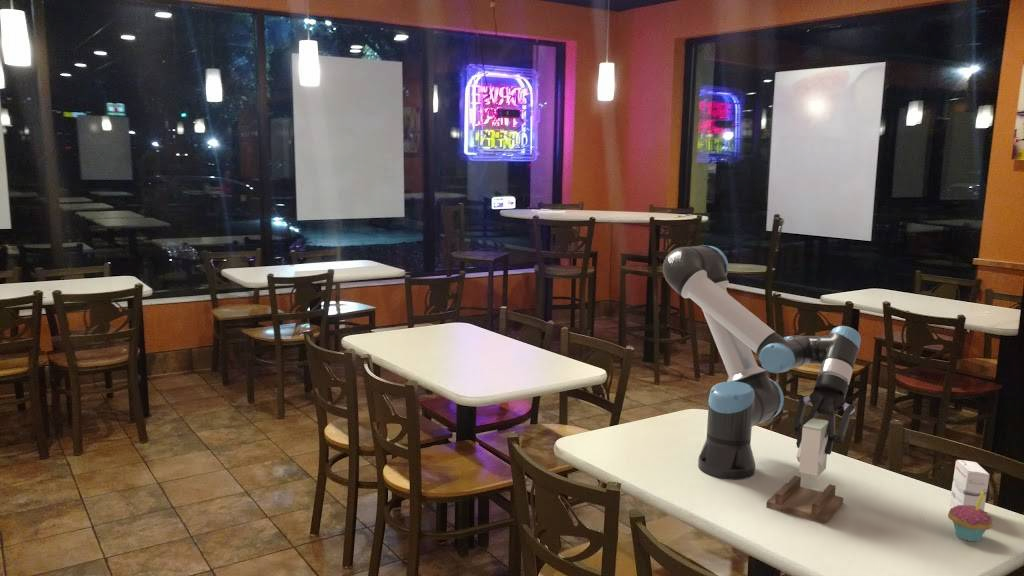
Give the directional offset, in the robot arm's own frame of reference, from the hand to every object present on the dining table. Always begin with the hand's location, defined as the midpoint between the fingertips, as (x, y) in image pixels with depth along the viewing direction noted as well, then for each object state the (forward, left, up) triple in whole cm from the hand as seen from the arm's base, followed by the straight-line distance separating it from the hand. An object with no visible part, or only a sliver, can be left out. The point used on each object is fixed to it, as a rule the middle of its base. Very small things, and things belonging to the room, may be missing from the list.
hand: (809, 461), depth 182 cm
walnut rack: (-1, +4, -13) cm, 13 cm away
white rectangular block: (+31, +26, -13) cm, 42 cm away
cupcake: (+33, +11, -13) cm, 37 cm away
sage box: (0, +4, -3) cm, 5 cm away
